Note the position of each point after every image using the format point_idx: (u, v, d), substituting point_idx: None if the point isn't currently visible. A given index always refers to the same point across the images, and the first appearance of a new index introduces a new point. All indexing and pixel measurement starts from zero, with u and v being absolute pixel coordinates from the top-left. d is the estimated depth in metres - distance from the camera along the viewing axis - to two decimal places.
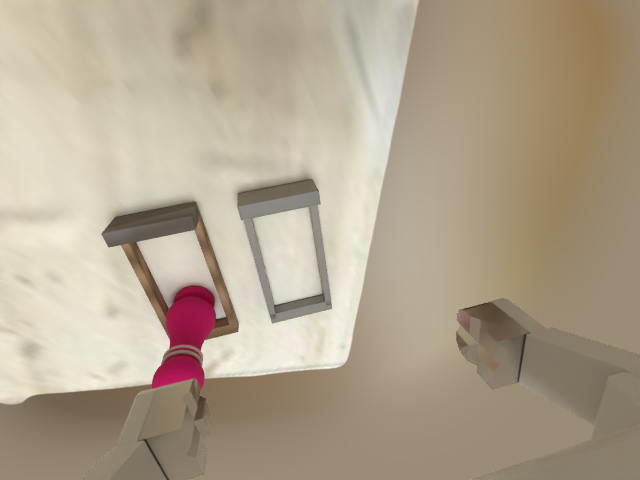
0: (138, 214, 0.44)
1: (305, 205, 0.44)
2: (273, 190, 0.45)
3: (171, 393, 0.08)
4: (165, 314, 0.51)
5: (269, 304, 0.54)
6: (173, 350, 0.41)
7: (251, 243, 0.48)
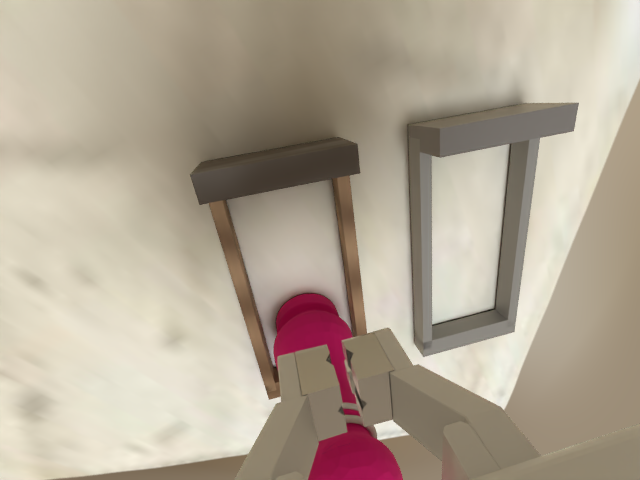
0: (243, 155, 0.24)
1: (549, 132, 0.24)
2: (474, 115, 0.26)
3: (312, 356, 0.09)
4: (263, 342, 0.30)
5: (427, 324, 0.33)
6: None
7: (423, 214, 0.28)
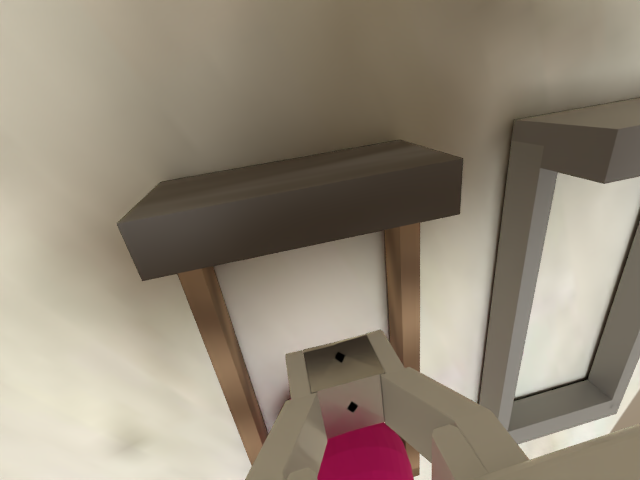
0: (235, 171, 0.14)
1: None
2: (634, 105, 0.15)
3: (320, 354, 0.09)
4: None
5: (504, 412, 0.23)
6: None
7: (527, 266, 0.17)
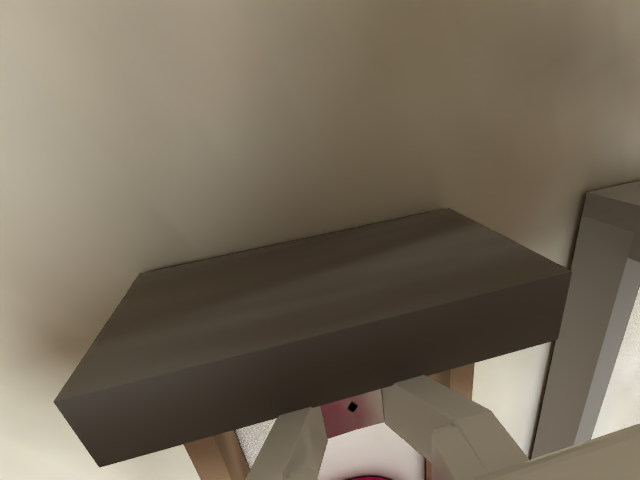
0: (238, 260, 0.10)
1: None
2: None
3: None
4: None
5: None
6: None
7: (600, 364, 0.14)
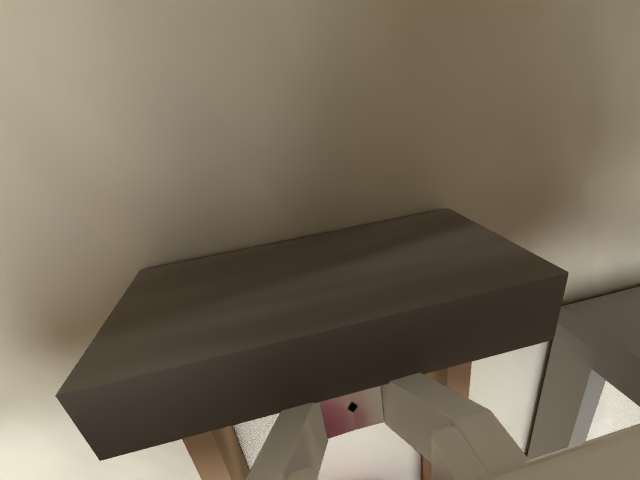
0: (238, 257, 0.10)
1: None
2: None
3: None
4: None
5: None
6: None
7: (571, 445, 0.16)
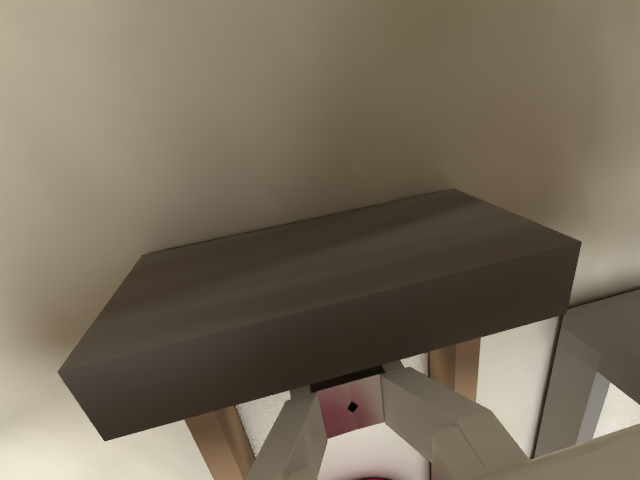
0: (241, 240, 0.10)
1: None
2: None
3: None
4: None
5: None
6: None
7: None
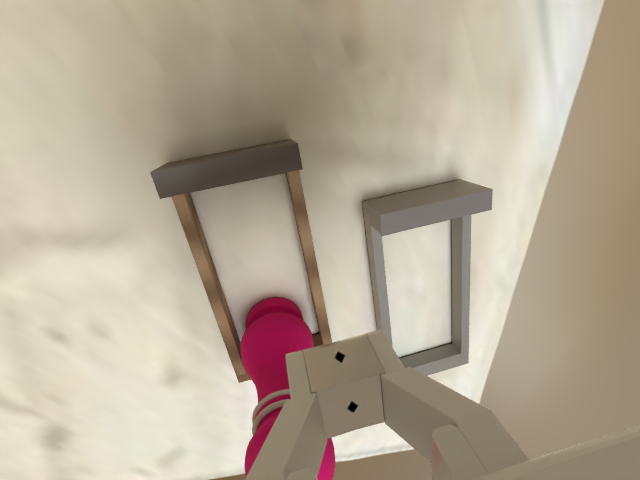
0: (203, 156, 0.28)
1: (471, 211, 0.30)
2: (415, 194, 0.32)
3: (320, 354, 0.09)
4: (230, 327, 0.33)
5: None
6: (272, 400, 0.23)
7: (377, 272, 0.34)
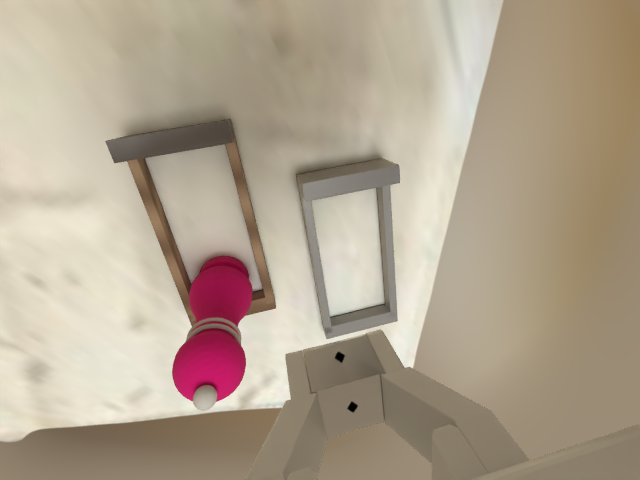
0: (155, 131, 0.33)
1: (382, 184, 0.36)
2: (339, 169, 0.38)
3: (320, 354, 0.09)
4: (183, 279, 0.39)
5: (325, 314, 0.45)
6: (201, 324, 0.29)
7: (310, 236, 0.40)
